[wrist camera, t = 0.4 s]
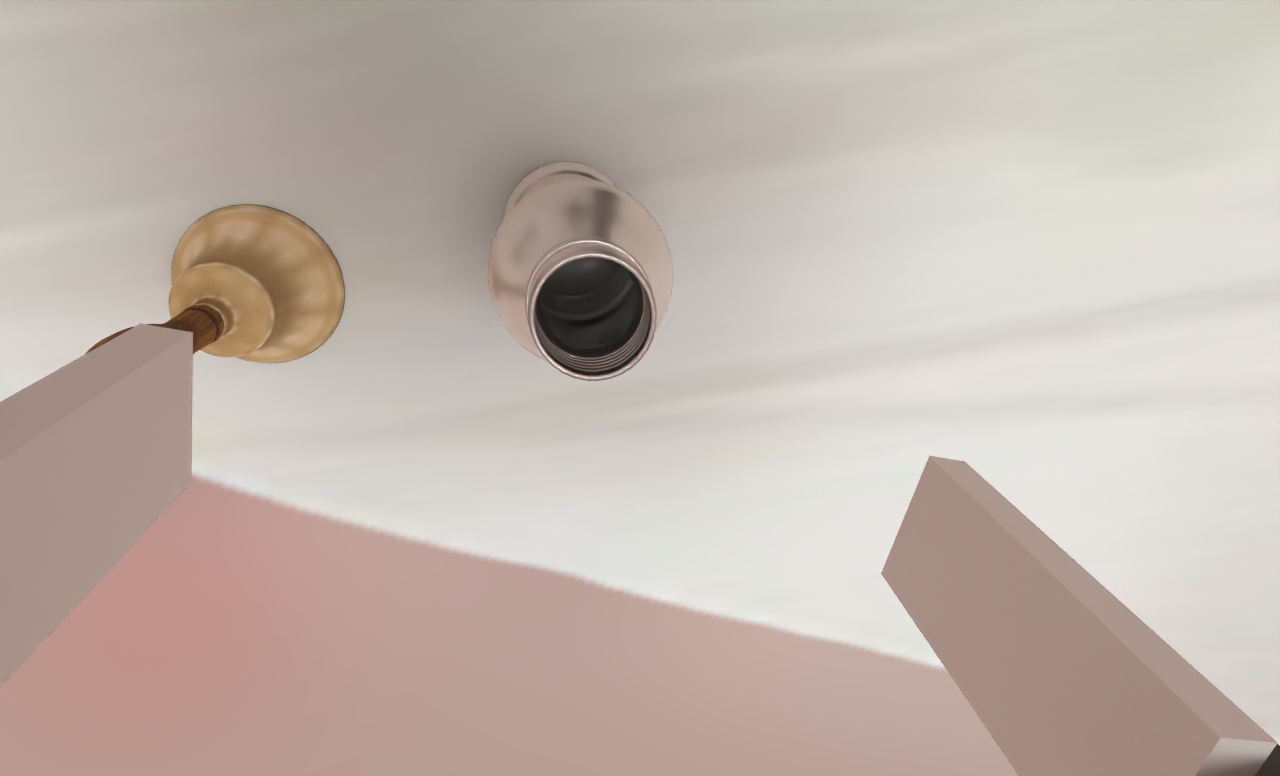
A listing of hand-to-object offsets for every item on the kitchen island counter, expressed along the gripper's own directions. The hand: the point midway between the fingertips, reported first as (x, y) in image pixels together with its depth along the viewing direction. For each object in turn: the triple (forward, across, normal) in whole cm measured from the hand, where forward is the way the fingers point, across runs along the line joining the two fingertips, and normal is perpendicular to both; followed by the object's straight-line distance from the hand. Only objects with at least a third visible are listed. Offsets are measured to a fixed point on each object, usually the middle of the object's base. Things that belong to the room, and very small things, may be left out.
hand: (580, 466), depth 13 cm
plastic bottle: (+28, 0, 0) cm, 28 cm away
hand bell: (+27, -15, -7) cm, 32 cm away
